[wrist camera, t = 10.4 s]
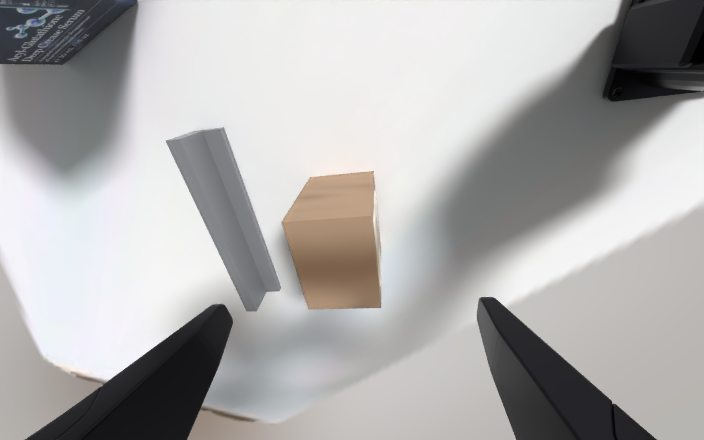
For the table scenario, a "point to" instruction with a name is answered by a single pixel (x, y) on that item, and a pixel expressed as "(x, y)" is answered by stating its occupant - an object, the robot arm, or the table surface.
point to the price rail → (226, 211)
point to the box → (52, 28)
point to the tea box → (337, 241)
